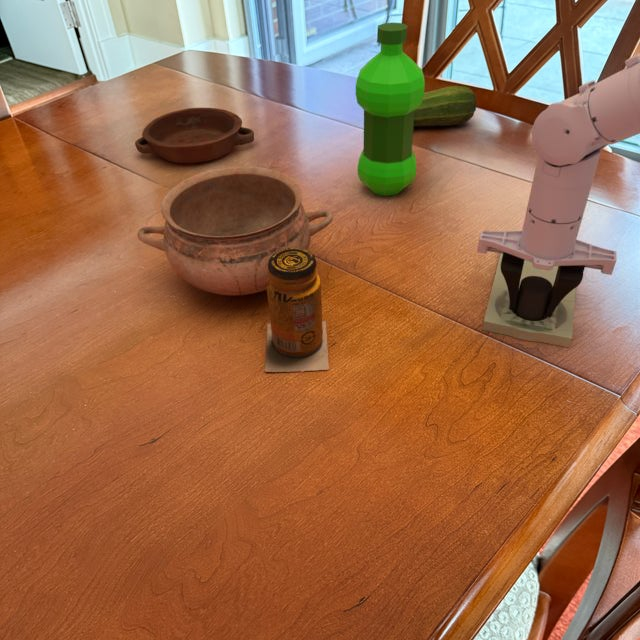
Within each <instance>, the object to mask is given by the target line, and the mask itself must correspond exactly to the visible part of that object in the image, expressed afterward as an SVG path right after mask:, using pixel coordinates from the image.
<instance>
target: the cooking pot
mask: <svg viewBox="0 0 640 640" xmlns="http://www.w3.org/2000/svg"><path fill="white" fill-rule="evenodd" d="M303 198H304V197H303V190H302V188H301V186H300V184H299V183H298V182H297V181H296V180H295V179H294V178H292V177H291V176H290V175H287V174H285V173H283V172H281V171H277V170H274V169H270V168H265V167H258V166H230V167H223V168H217V169H212V170H209V171H205V172H200V173H198V174H196V175H193V176H191V177H189V178H186V179H185V180H183V181H181V182H179V183H178V184H176V185H175V186H174V187H172V188H171V189H170V190H169V191H168V192H167V193H166V195H165V196H164V197H163V199H162V203H161V205H160V206H161V215H162V216H163V219H164V220H165V221H164V222H165V223H164V225H161V226H143V227H141V228H140V229H138V231H137V239H138V240H139V241H140V242H141V243H144V245H145V244H146V245H147V246H150V247H152V248H154V249H157V250H159V251H162V252H164V253H165V255H166V258H167V261H168V263H169V264H170V266H171V267H172V269H173V270H174V271H175V272H176V274H178V276H179V277H180V278H182V279H183V280H184V281H185V282H187V283H188V284H189V285H190V286H193V287H195V288H197V289H198V290H201V291H204V292H208V293H210V294H214V295H219V296H245V295H251V294H256V293H260V292H263V291H267V280H268V278H269V275H268V272H269V270H268V262H269V259H270V257H271V256H272V255H273V254H274V253H276V252H278V251H280V250H283V249H286V248H300V249H304V250H307V251H309V247H310V244H311V237H313V236H314V235H316V234H318V233H319V232H321V231H322V230H324V229H325V228H327V227H328V226H329V225H330V224H331V223H333V220H334V215H333V213H332V212H331V211H330V210H327V209H323V210H317V211H307V212H306V210H305V208H304V205H303V203H302V202H303V200H304V199H303ZM321 218H324V219H323V220H322V221H320V222H319V223H316V224H311V222H312V221H315V220H317V219H321ZM147 234H149V235H150V234H156V235H157V234H159V235H163V238H157V239H155V238H153V237H149V236H147Z"/></svg>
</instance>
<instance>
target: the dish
mask: <svg viewBox="0 0 640 640" xmlns="http://www.w3.org/2000/svg"><path fill="white" fill-rule="evenodd" d="M242 125H243V120H242V118H241V117H240V116H239V115H238V114H236V113H235V112H232V111H229V110H227V109H223V108H217V107H190V108H189V107H188V108H184V109H178V110H175V111H171V112H167V113H165V114H162V115H160V116H158V117H156V118H154V119H152V121H151V120H150V122H149V123H148V124H147V125H146V126H145V127H144V128H143V130H142V133H141V137H139V138H138V139H136V140H135V143H134V145H135V148H136V150H137V151H138V152H139V153H141V154H145V155H147V154H149V155H157V156H159V157H161V158H162V159H163V160H165V161H168V162H172V163H179V164H194V163H202V162H207V161H212V160H216V159H219V158H221V157H224V156H225V155H227V154H229V153H230V152H232V151H233V150H234V149H235V148H236V147H238V146H244V145H248V144H251V143H253V142H254V141H255V132H254V130H253V129H251V128H249V127H243V126H242Z"/></svg>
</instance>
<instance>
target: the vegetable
mask: <svg viewBox="0 0 640 640" xmlns="http://www.w3.org/2000/svg"><path fill="white" fill-rule="evenodd" d="M476 96H477V95H476V94H475V93H474V91H473V90H472V89H471V88H470V87H467V86H462V85H450V86H446V87H443V88H438V89H435V90H431V91H430V90H429V91H427V92H424V97H423V100H422V104H421V105H420V106H419V107H418V108H417V109H416V110H414V124H413V128H423V127H425V128H426V127H427V128H432V127H450V126H457V125H460V124H465V123H467V122H468V121H471V119H472V118H473V117H474V115H475V112H476V110H477V102H478V101H477V97H476Z"/></svg>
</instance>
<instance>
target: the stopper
mask: <svg viewBox="0 0 640 640" xmlns="http://www.w3.org/2000/svg"><path fill="white" fill-rule="evenodd" d="M552 288H553V287H552V284H551V282H550V281H548V280H547V279H545V278H543V277H539V276H528V277H525V278H523V279H522V281H521V283H520V288H519V292H518V297H517V304H516V308H515V310H513V313H514V314H515V315H517V316H518V317H520V318H522V319H524V320H528V321H541V320H544V319H546V318H545V317H546V316H545V313H546V310H547V306H548V303H549V299H550V296H551V292H552Z"/></svg>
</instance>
